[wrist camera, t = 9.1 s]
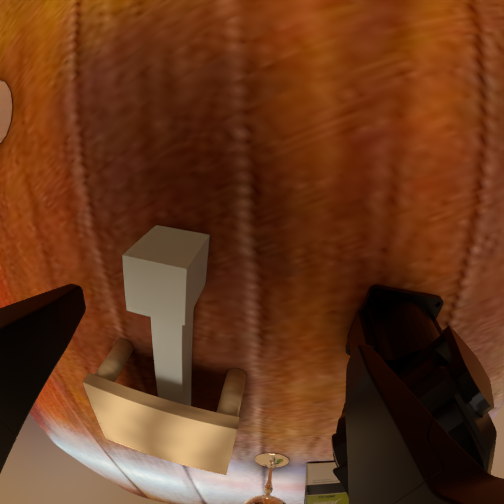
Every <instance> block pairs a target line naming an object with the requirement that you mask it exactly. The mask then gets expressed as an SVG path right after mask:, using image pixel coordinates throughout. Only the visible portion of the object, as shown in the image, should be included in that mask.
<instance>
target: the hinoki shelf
mask: <svg viewBox="0 0 504 504" xmlns="http://www.w3.org/2000/svg"><path fill="white" fill-rule="evenodd" d="M133 350H134V348H133V345H132V344H131V343H130V342H129V341H127V340H125V339H119V340H118V341H117V342H116V344H115V345H114V347H113V348H112V350H111V351H110V352H109V354H108V355H107V357H106V358H105V360H104V361H103V363H102V364H101V366H100V367H99V369H98V370H97V372H96V373H95V375H94V374H91V373H89V374H88V375H87V377H86V378H85V380H84V381H83V384H84V387H85V390H86V392H87V395H88V397H89V400H90V403H91V405H92V408H93V410H94V412H95V415H96V417H97V420H98V422H99V424H100V426H101V429H102V431H103V433H104V435H105V437H106V439H109V440H111V441H113V442H116V443H118V444H121V445H124V446H126V447H129V448H132V449H134V450H137V451H140V452H143V453H146V454H149V455H152V456H155V457H158V458H161V459H165V460H168V461H171V462H175V463H178V464H182V465H186V466H189V467H193V468H197V469H201V470H206V471H210V472H215V473H219V474H224V475H226V473H227V469H228V465H229V461H230V457H231V453H232V449H233V445H234V441H235V437H236V433H237V428H238V423H239V419H240V417H238V416H239V411H240V407H241V402H242V397H243V392H244V387H245V382H246V377H247V375H246V373H245V372H244V371H243V370H241V369H238V368H232V369H230V370H228V371H227V375H226V378H225V382H224V386H223V390H222V393H221V397H220V401H219V404H218V408H217V412H212V411H208V410H204V409H200V408H196V407H192V406H188V405H184V404H180V403H177V402H173V401H170V400H166V399H163V398H159V397H156V396H153V395H150V394H147V393H143V392H140V391H137V390H134V389H131V388H129V387H126V386H123V385H120V384H117V383H115V380H116V378H117V377H118V375H119V373H120V372H121V370H122V368H123V367H124V365H125V363H126V362H127V360H128V359H129V357H130V355H131V354H132V352H133Z"/></svg>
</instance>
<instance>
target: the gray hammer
mask: <svg viewBox="0 0 504 504" xmlns="http://www.w3.org/2000/svg"><path fill="white" fill-rule="evenodd" d="M209 238H210V235H208V234H203V233H197V232H192V231H186V230H181V229H175V228H170V227H164V226H159V225H156V226H154V227H153V228H152V229H151V230H150V231H149V232H148V233H146V234H145V235H144V236H143V237H142V238H141V239H140V240H138V241H137V242H136V243H135V244H134V245H133V246H132V247H131V248H130V249H128V250H127V251H126V252H125V253H124V254H123V255H122V256H123V273H124V286H125V297H126V307H127V311H131V312H134V313H138V314H142V315H145V316H149V317H151V328H152V342H153V354H154V365H155V375H156V384H157V392H158V397H159V398H163V399H166V400H170V401H173V402H177V403H180V404H184V405H188V406H191V371H192V336H193V312H194V306H195V304H196V302H197V300H198V298H199V296H200V294H201V292H202V290H203V288H204V286H205V284H206V271H207V260H208V249H209Z"/></svg>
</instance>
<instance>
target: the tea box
mask: <svg viewBox="0 0 504 504" xmlns="http://www.w3.org/2000/svg"><path fill="white" fill-rule="evenodd" d="M336 467H337V466H336V463H335V462H331V463H308V464H307V471H306V486H305V500H304V504H349V498H348V495H347V493H346V491H345V489H344V487H343V486H342V484H341V483H340V481H339V480H338V479H337V477H336V476H335V475H334V473H333V469H334V468H336Z"/></svg>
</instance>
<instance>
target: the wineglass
mask: <svg viewBox="0 0 504 504" xmlns="http://www.w3.org/2000/svg"><path fill="white" fill-rule="evenodd" d="M255 461H256V462H257V463H258V464H260V465H263V466H267V467H268V468H269V474H268V480H267V483H266V485H265V488H264V492H265V495H259V496H255V497H252V498H250V499H248V500H247V501H246V502H245V503H244V504H286V503H285V502H284V501H283V500H282V499H280V498H277V497H275V496H271V495H270V493H271V492H272V489H273V488H272V482H271V479H272V471H273V468H274V467H281V466H284V465H286V464H288V463H289V459H288V458H287V457H286V456H284V455H281V454H276V453H263V454H259V455H257V456H256V457H255Z"/></svg>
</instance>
